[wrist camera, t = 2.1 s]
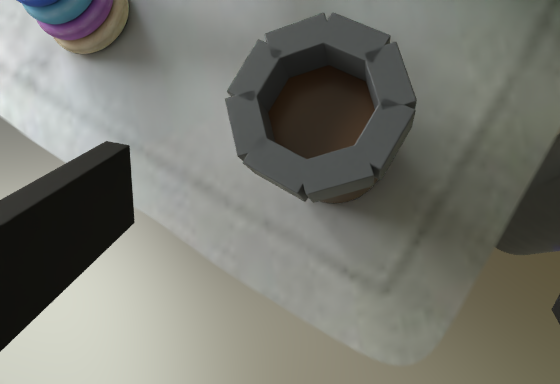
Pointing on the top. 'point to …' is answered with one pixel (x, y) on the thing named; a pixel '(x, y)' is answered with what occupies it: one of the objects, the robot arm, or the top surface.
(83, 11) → the stacking toy
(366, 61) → the gray octagonal ring
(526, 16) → the top surface
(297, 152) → the stand
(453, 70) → the top surface
